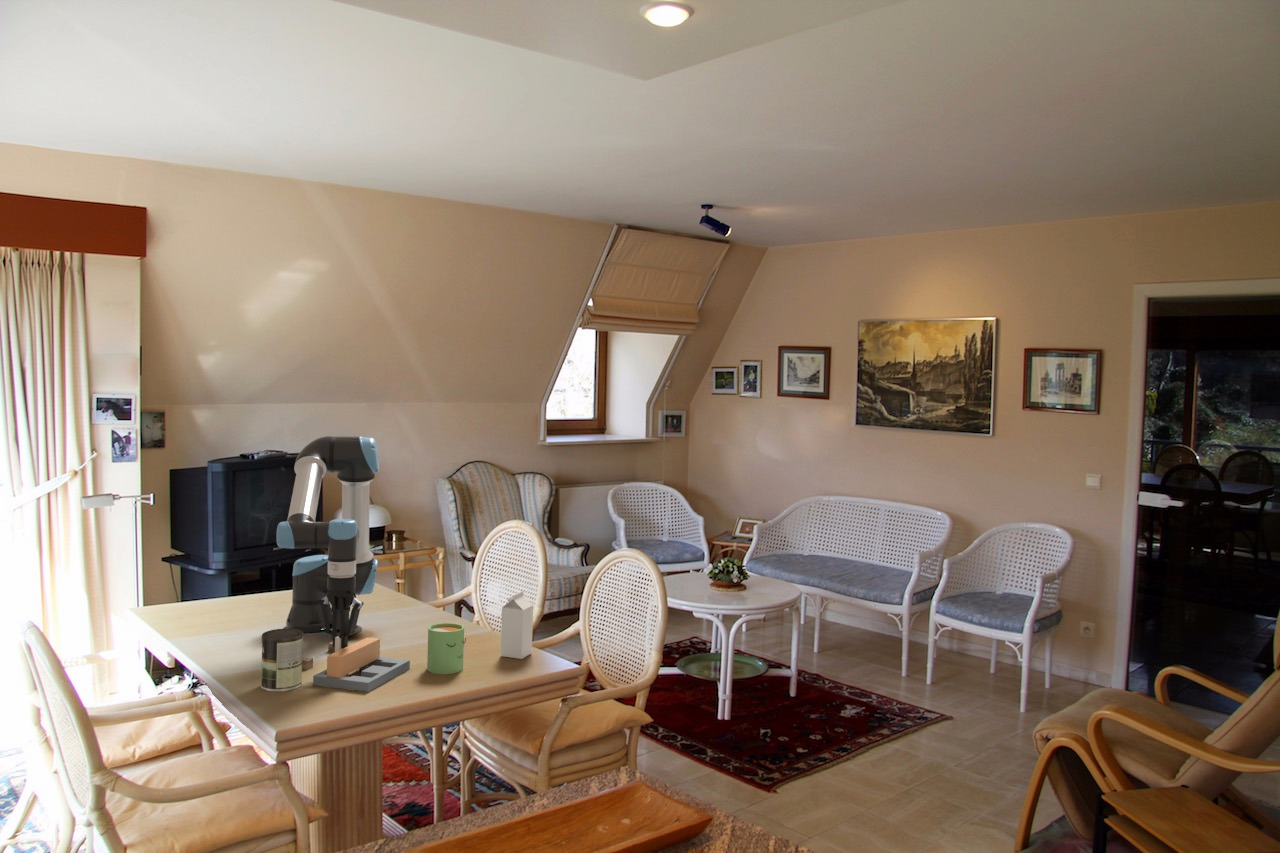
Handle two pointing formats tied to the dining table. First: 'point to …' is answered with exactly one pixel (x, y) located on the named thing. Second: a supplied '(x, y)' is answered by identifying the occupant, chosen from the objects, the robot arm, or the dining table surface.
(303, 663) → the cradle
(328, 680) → the board with u-shaped cutout
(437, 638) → the mug
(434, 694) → the dining table surface
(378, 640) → the strip
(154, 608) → the dining table surface
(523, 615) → the milk carton
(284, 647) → the coffee can
